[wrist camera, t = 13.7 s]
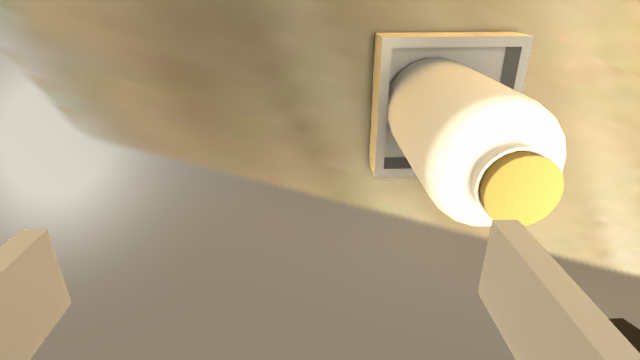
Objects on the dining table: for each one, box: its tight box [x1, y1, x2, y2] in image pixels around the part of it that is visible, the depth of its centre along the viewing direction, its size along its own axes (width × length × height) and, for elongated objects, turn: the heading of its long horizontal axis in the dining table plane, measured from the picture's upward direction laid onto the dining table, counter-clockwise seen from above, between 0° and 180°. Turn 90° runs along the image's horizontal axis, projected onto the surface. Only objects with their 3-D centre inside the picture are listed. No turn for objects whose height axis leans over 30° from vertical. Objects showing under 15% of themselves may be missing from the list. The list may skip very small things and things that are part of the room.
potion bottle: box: [387, 58, 566, 226], centre depth 29 cm, size 8×8×18 cm
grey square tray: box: [369, 32, 534, 177], centre depth 36 cm, size 12×12×4 cm
